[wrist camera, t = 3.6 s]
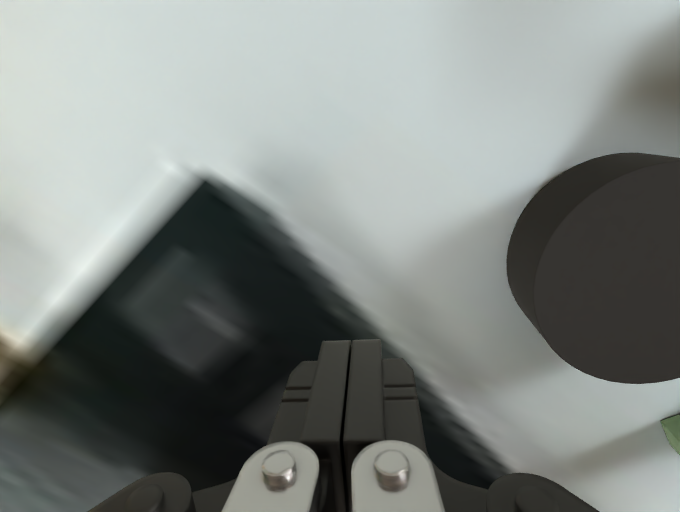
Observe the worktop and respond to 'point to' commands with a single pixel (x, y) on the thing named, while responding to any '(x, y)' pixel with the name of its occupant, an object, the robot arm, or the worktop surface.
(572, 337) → the puck
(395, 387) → the robot arm
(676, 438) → the frame
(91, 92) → the worktop surface
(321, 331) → the worktop surface
